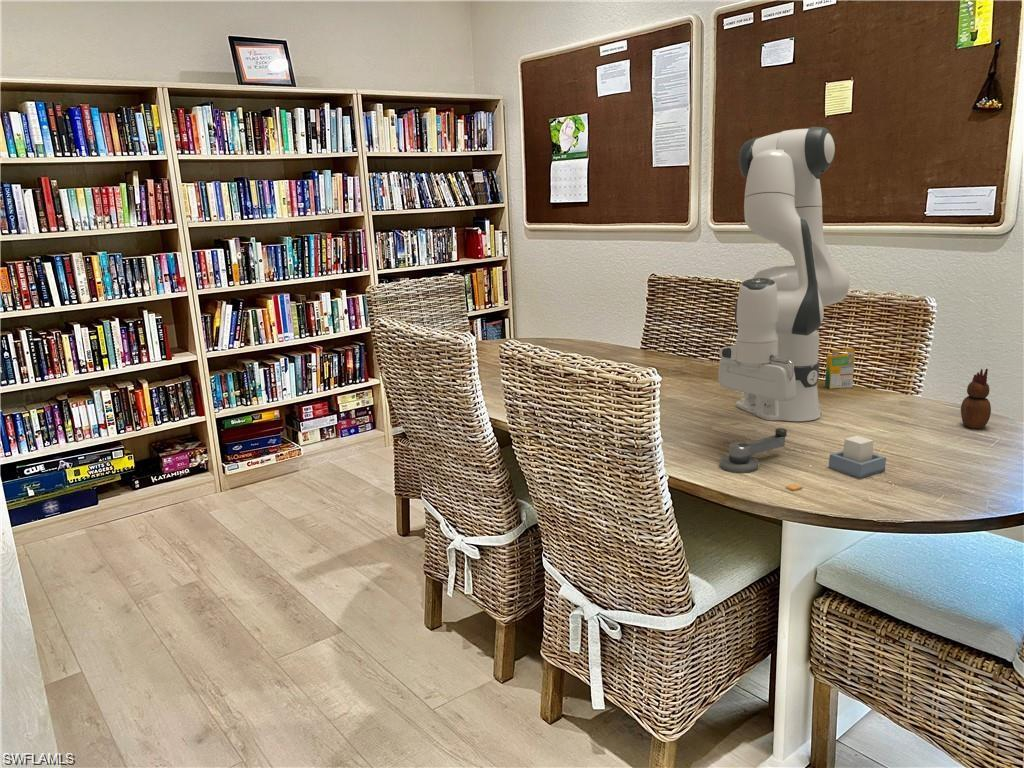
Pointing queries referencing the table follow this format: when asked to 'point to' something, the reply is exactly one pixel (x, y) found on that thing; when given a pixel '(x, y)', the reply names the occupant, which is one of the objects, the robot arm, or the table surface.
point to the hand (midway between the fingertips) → (755, 413)
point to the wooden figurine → (976, 402)
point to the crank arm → (756, 446)
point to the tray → (857, 465)
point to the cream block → (858, 449)
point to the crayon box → (840, 369)
